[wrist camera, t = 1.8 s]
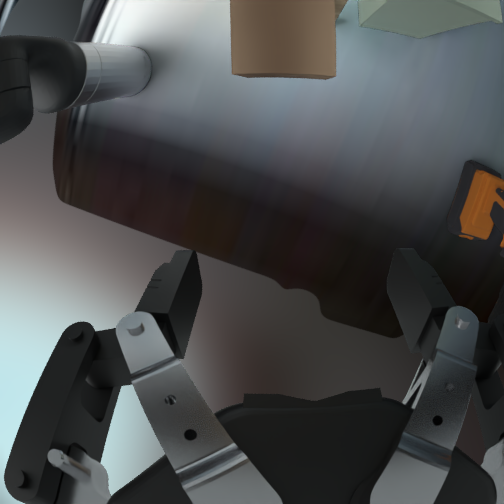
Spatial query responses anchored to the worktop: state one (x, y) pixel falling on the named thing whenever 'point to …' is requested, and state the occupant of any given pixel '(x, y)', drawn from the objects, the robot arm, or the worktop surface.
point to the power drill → (479, 211)
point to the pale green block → (426, 15)
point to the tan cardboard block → (283, 38)
